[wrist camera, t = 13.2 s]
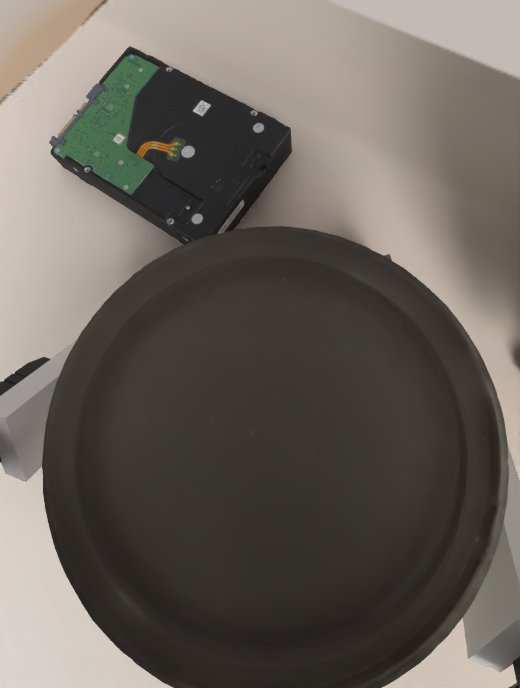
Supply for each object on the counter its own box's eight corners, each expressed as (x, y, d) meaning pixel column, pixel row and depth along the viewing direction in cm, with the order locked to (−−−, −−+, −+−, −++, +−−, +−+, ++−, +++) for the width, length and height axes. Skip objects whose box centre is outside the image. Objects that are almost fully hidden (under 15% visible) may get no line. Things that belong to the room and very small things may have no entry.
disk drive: (294, 154, 28) (141, 74, 31) (294, 125, 25) (126, 40, 28) (213, 265, 27) (62, 172, 30) (204, 247, 24) (38, 146, 27)
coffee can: (198, 530, 21) (14, 709, 8) (199, 349, 24) (58, 240, 10) (387, 529, 20) (561, 732, 7) (369, 340, 23) (471, 205, 9)
